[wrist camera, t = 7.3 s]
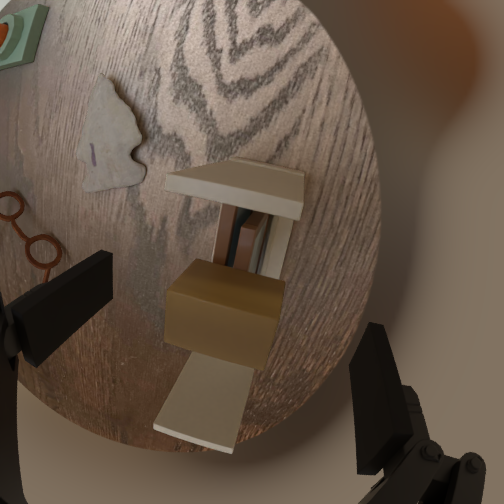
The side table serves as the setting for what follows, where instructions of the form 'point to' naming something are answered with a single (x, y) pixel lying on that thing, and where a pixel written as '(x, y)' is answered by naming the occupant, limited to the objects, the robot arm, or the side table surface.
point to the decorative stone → (109, 141)
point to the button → (3, 33)
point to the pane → (227, 304)
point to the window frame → (226, 240)
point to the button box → (22, 36)
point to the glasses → (29, 241)
